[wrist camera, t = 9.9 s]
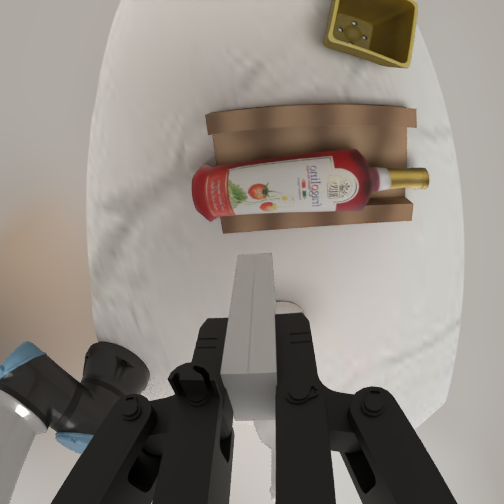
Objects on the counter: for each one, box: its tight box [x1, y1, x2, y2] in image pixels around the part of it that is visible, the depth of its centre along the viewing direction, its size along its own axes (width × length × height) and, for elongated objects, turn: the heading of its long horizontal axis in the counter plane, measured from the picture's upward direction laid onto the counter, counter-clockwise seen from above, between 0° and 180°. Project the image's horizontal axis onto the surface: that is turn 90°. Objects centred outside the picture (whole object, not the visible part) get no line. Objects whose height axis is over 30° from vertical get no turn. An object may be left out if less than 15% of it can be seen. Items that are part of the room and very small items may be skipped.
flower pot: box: [324, 0, 418, 68], centre depth 23 cm, size 9×9×9 cm
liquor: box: [192, 149, 429, 221], centre depth 32 cm, size 7×7×28 cm
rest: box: [206, 104, 417, 234], centre depth 34 cm, size 25×15×3 cm, turn 96°
